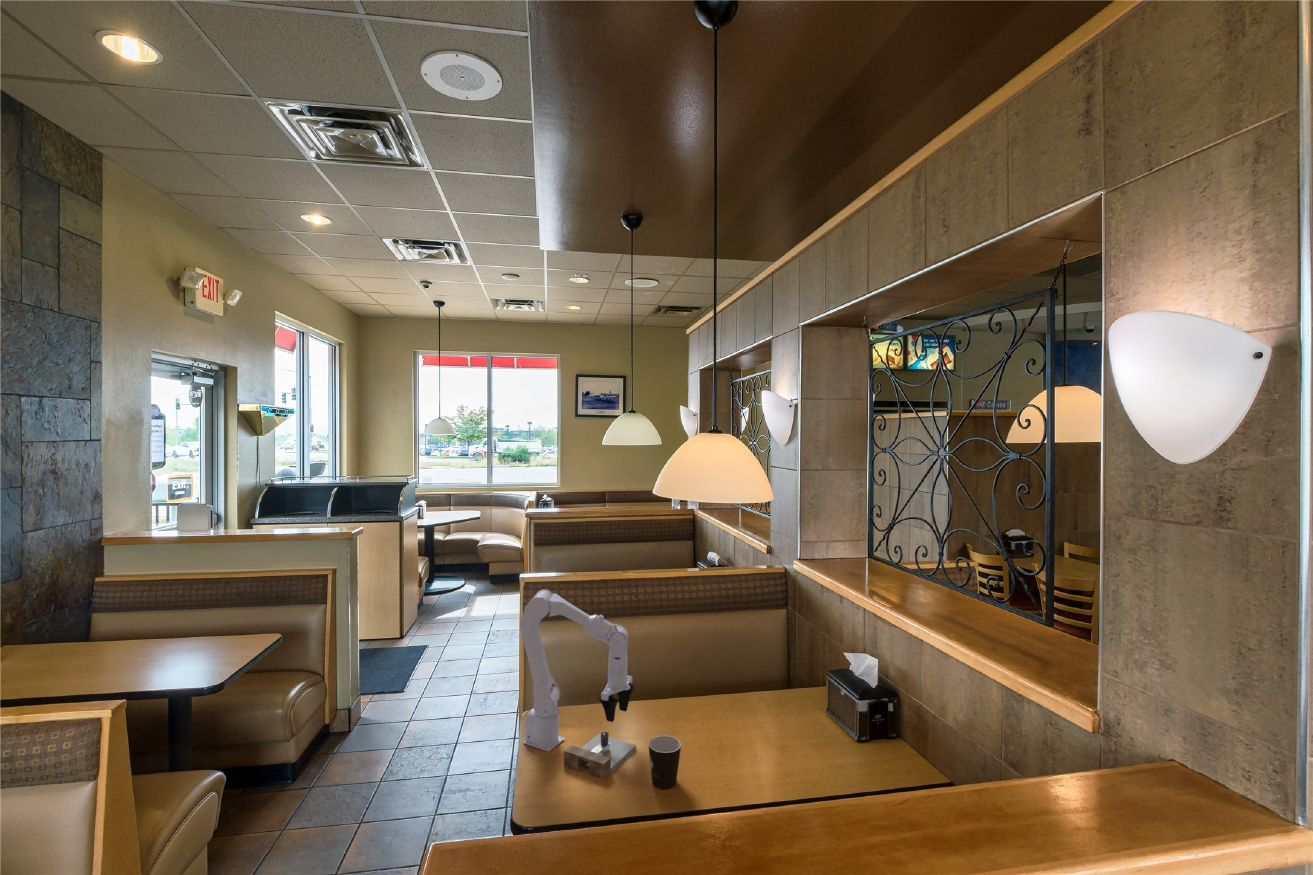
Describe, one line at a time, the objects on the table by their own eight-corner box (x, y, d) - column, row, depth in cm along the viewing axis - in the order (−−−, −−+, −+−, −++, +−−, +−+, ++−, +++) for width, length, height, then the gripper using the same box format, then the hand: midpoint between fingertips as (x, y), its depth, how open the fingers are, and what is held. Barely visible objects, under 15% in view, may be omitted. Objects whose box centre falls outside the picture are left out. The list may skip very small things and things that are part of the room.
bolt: (588, 758, 155) (589, 742, 155) (602, 746, 161) (603, 730, 161) (596, 760, 153) (596, 744, 154) (609, 748, 160) (610, 732, 160)
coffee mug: (677, 794, 142) (678, 754, 142) (644, 789, 143) (645, 750, 143) (684, 768, 153) (685, 731, 153) (653, 764, 155) (654, 728, 155)
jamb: (563, 766, 153) (563, 750, 153) (571, 760, 156) (571, 744, 156) (603, 779, 147) (603, 763, 147) (610, 773, 150) (610, 757, 150)
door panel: (571, 760, 156) (571, 748, 156) (598, 737, 169) (598, 726, 169) (610, 773, 150) (610, 761, 150) (636, 748, 163) (636, 737, 163)
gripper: (616, 680, 157) (615, 729, 157) (641, 663, 170) (640, 708, 170) (595, 675, 160) (594, 723, 160) (621, 659, 173) (620, 703, 173)
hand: (616, 715), depth 165 cm, fingers open, 7 cm apart
